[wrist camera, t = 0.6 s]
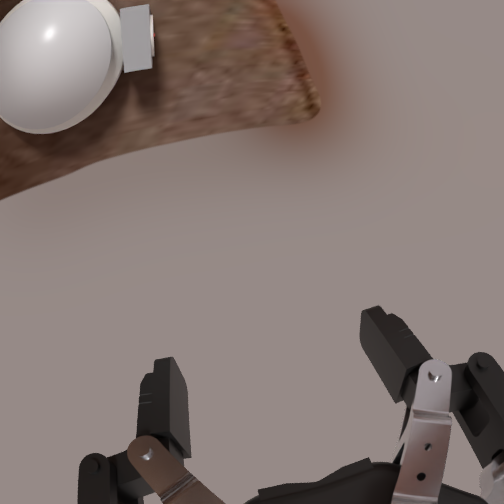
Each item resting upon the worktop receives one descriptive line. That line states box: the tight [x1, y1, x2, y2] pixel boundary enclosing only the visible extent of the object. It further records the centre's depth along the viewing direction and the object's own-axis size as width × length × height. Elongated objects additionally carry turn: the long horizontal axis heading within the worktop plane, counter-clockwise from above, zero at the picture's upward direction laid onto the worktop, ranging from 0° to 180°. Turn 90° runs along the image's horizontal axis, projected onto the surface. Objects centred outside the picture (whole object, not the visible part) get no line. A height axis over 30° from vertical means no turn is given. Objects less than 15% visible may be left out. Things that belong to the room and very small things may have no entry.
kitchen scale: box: [0, 0, 155, 134], centre depth 20 cm, size 18×15×5 cm
